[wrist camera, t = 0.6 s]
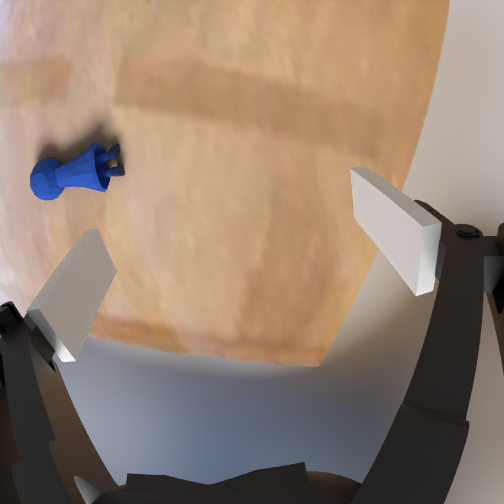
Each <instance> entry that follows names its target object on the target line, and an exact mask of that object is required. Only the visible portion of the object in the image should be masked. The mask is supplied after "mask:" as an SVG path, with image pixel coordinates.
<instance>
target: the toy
mask: <svg viewBox="0 0 504 504" xmlns="http://www.w3.org/2000/svg"><path fill="white" fill-rule="evenodd" d="M119 153H120V148H119V144H116V145H114V146H113V147H112V148H111V149H110V150H109V152H105V150H104V148H103V147H102V146H100V145H97V144H95V143H93V144H92V145H91V146H90V147H88V148H87V149H86V150H85V151H83V152H82V153H81V154H80V155H78V156H77V157H75V158H74V159H72V160H70V161H68V162H67V163H65V164H63V165H61V164H60V162H59V161H58V160H56V159H45V160H42V161H40V162H39V163H37V164H36V166H35V167H34V168H33V171H32V173H31V175H30V187H31V189H32V191H33V193H34V194H35V196H37V197H38V198H39V199H42V200H54V199H56V198H58V196H59V195H60V194H61V193H62V192H63V190H64V188H65V187H86V188H90V189H94V190H98V191H102V192H105V191H106V190H107V188H108V185H109V182H110V176H124V175H125V173H124V168H123V167H121V166H116V167H112V168H111V169H108V168H107V166H106V164H105V160H116V159H117V158H118V155H119Z"/></svg>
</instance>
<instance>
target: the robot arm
mask: <svg viewBox="0 0 504 504" xmlns="http://www.w3.org/2000/svg"><path fill="white" fill-rule="evenodd" d="M350 171H351V181H352V193H353V205H354V219H355V220H356V221H357V223H358V224H359V225H360V226H361V227H362V229H363V230H364V231H365V232H366V233H367V234H368V236H369V237H370V238H371V239H372V240H373V242H374V243H375V244H376V245H377V247H378V248H379V249H380V250H381V252H382V253H383V254H384V255H385V256H386V258H387V259H388V260H389V262H390V263H391V264H392V265H393V267H394V268H395V269H396V270H397V272H398V273H399V274H400V275H401V277H402V278H403V280H404V281H405V282H406V283H407V285H408V286H409V287H410V289H411V290H412V291H413V293H414V294H415V295H416V296H418V295H421V294H424V293H427V292H430V291H433V288H434V281H435V277H436V278H437V279H438V280H439V281H440V282H439V287H438V291H437V295H436V300H435V303H434V307H433V311H432V315H431V319H430V323H429V326H428V330H427V333H426V337H425V340H424V343H423V347H422V350H421V353H420V357H419V359H418V362H417V365H416V368H415V371H414V374H413V377H412V379H411V382H410V385H409V387H408V390H407V393H406V395H405V398H404V400H403V403H402V404H401V406H400V408H399V410H398V412H397V414H396V417H395V419H394V422H393V424H392V426H391V428H390V430H389V432H388V434H387V437H386V439H385V441H384V443H383V445H382V447H381V449H380V451H379V453H378V455H377V457H376V459H375V461H374V463H373V465H372V467H371V468H370V470H369V472H368V474H367V476H366V478H365V479H364V481H363V483H362V484H361V483H359V482H356V481H354V480H352V479H349V478H347V477H344V476H341V475H336V474H332V473H326V472H318V471H307V472H306V468H305V463H304V462H302V463H297V464H291V465H286V466H280V467H273V468H267V469H260V470H255V471H252V472H249V473H247V474H243V475H240V476H238V477H234V478H231V479H228V480H225V481H222V482H219V483H215V484H209V485H206V484H201V483H196V482H191V481H187V480H183V479H178V478H174V477H170V476H167V475H145V474H129V473H128V474H127V481H126V484H124V485H121V486H118V485H117V483H116V482H115V481H114V480H113V478H112V477H111V475H110V473H109V472H108V470H107V468H106V467H105V465H104V463H103V462H102V460H101V458H100V456H99V455H98V453H97V451H96V449H95V447H94V445H93V444H92V442H91V440H90V438H89V436H88V434H87V432H86V430H85V428H84V426H83V424H82V422H81V420H80V418H79V416H78V414H77V412H76V409H75V407H74V405H73V403H72V401H71V398H70V396H69V394H68V391H67V389H66V386H65V384H64V381H63V379H62V376H61V374H60V371H59V369H58V366H57V364H56V363H55V362H54V360H53V359H52V357H53V355H54V353H55V352H56V354H57V355H58V356H59V358H60V359H61V360H62V361H63V362H69V361H76V359H77V357H78V355H79V352H80V350H81V348H82V345H83V343H84V341H85V338H86V336H87V334H88V331H89V329H90V327H91V325H92V322H93V320H94V318H95V316H96V314H97V311H98V309H99V307H100V305H101V303H102V301H103V299H104V296H105V294H106V292H107V290H108V288H109V286H110V284H111V282H112V280H113V278H114V276H115V274H116V272H117V271H116V269H115V267H114V264H113V262H112V260H111V258H110V256H109V254H108V251H107V249H106V247H105V245H104V243H103V240H102V238H101V236H100V233H99V231H98V229H97V228H96V229H92V230H89V231H86V232H85V233H84V234H83V236H82V237H81V238H80V239H79V240H78V242H77V243H76V244H75V245H74V247H73V248H72V249H71V250H70V252H69V253H68V254H67V255H66V257H65V258H64V259H63V261H62V262H61V263H60V265H59V266H58V267H57V269H56V270H55V271H54V273H53V274H52V275H51V277H50V278H49V279H48V281H47V282H46V284H45V285H44V286H43V288H42V289H41V291H40V292H39V293H38V295H37V296H36V298H35V299H34V301H33V302H32V304H31V305H30V307H29V308H28V310H27V314H26V315H25V317H24V318H22V316H21V315H20V313H19V311H18V310H17V308H16V307H15V305H14V304H13V302H12V301H9V302H6V303H4V304H2V305H1V306H0V334H1V338H0V504H444V502H445V499H446V497H447V494H448V492H449V490H450V487H451V484H452V482H453V479H454V476H455V473H456V470H457V468H458V465H459V462H460V459H461V456H462V453H463V449H464V446H465V443H466V439H467V435H468V430H469V421H467V420H466V415H467V410H468V406H469V401H470V397H471V391H472V387H473V382H474V376H475V371H476V365H477V358H478V351H479V343H480V335H481V325H482V313H483V294H484V292H486V294H487V298H488V301H489V305H490V309H491V312H492V316H493V321H494V325H495V330H496V334H497V339H498V344H499V349H500V355H501V360H502V367H503V373H504V223H502V224H500V226H499V227H498V233H497V236H483V234H482V232H481V231H480V230H479V229H478V228H476V227H474V226H471V225H467V224H456V225H455V224H453V223H452V222H451V221H450V220H448V219H447V218H445V217H444V216H443V215H442V214H440V213H439V212H438V211H436V210H434V208H432V207H431V206H430V205H428V204H427V203H424V202H422V201H419V200H412V199H411V198H409V197H408V196H406V195H405V194H404V193H402V192H401V191H400V190H398V189H397V188H395V187H394V186H393V185H391V184H390V183H388V182H387V181H385V180H384V179H383V178H381V177H380V176H378V175H377V174H375V173H374V172H372V171H371V170H369V169H368V168H366V167H365V166H363V167H357V168H351V169H350Z"/></svg>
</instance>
